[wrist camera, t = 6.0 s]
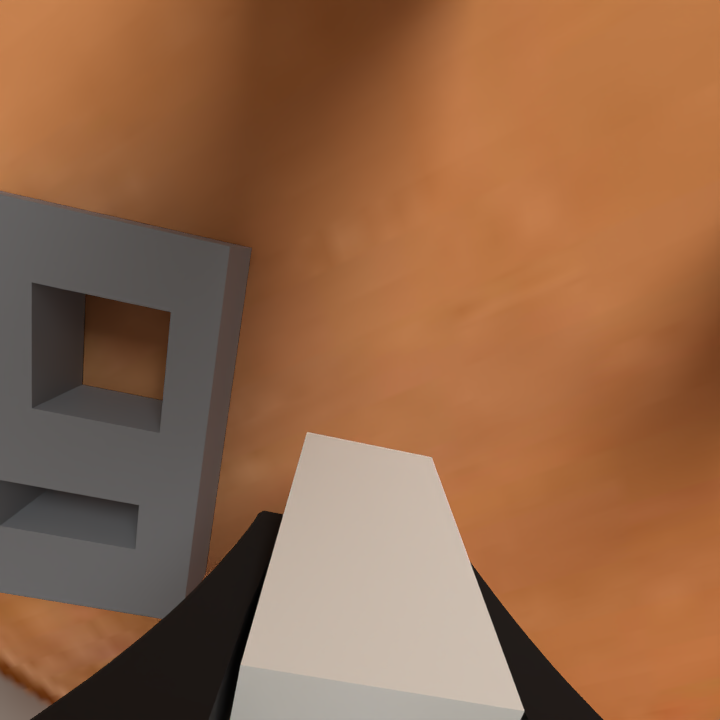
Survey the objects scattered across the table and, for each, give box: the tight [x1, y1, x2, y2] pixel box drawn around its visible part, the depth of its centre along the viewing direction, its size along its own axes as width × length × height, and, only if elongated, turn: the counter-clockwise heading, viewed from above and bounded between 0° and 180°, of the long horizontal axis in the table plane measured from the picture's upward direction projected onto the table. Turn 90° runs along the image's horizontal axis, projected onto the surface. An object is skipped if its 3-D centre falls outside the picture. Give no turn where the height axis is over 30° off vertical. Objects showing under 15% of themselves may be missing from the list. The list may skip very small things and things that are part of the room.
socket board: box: [0, 191, 252, 619], centre depth 18 cm, size 18×11×3 cm, turn 167°
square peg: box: [230, 432, 524, 720], centre depth 9 cm, size 4×4×7 cm
